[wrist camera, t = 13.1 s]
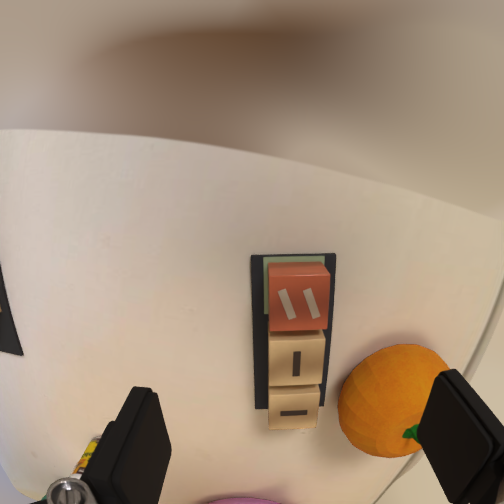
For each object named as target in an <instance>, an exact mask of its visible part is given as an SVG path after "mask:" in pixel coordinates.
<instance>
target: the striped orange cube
mask: <svg viewBox="0 0 504 504" xmlns="http://www.w3.org/2000/svg"><path fill="white" fill-rule="evenodd" d="M329 292H330V273H329V272H328V271H327V269H326V268H325V266H324V265H323V263H322V262H321V261H317V262H271V263H268V315H269V331H296V330H319V329H327V324H328V309H329Z"/></svg>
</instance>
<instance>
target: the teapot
mask: <svg viewBox="0 0 504 504" xmlns="http://www.w3.org/2000/svg"><path fill="white" fill-rule="evenodd" d="M208 504H280V503H277V502H274V501H270V500H264V499H257V498H227V499H221V500H217V501H213V502H211V503H208Z"/></svg>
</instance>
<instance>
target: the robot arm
mask: <svg viewBox="0 0 504 504" xmlns="http://www.w3.org/2000/svg"><path fill="white" fill-rule="evenodd" d="M416 434H417V439H418V441H419V443H420V445H421V447H422V448H423V450H424V452H425V454H426V456H427V458H428V460H429V462H430V464H431V466H432V468H433V470H434V472H435V474H436V476H437V478H438V480H439V483H440V485H441V487H442V489H443V491H444V493H445V495H446V497H447V499H448V501H449V502H450V503H453V504H468V503H470V504H504V426H503V425H502V424H501V422H500V421H499V420H498V419H497V417H496V416H495V415H494V414H493V412H492V411H491V410H490V409H489V407H488V406H487V405H486V404H485V403H484V401H483V400H482V399H481V398H480V396H479V395H478V394H477V393H476V392H475V390H474V389H473V388H472V387H471V386H470V385H469V383H468V382H467V381H466V380H465V379H464V378H463V376H462V375H461V374H460V373H459V372H458V371H457V370H456V369H450V370H445V371H441V372H440V373H439V374H438V376H437V377H435V379H434V382H433V385H432V388H431V391H430V395H429V398H428V400H427V403H426V406H425V409H424V412H423V415H422V417H421V420H420V423H419V425H418V428H417V432H416ZM171 451H172V449H171V443H170V440H169V436H168V433H167V429H166V425H165V422H164V418H163V414H162V410H161V406H160V402H159V398H158V395H157V393H155V392H152V389H151V388H146V387H136V386H134V387H133V388H132V389H131V391H130V393H129V395H128V397H127V399H126V401H125V403H124V405H123V407H122V408H121V410H120V412H119V414H118V416H117V418H116V420H115V421H111V422H109V423H108V425H107V427H106V428H105V430H104V432H103V434H102V436H101V438H100V440H99V442H98V444H97V446H96V448H95V450H94V452H93V453H92V455H91V457H90V459H89V461H88V463H87V465H86V467H85V469H84V471H83V473H82V475H81V477H80V479H77V478H71V477H67V478H61V479H59V480H57V481H55V482H54V483H52V484H51V485H50V487H49V488H48V490H47V494H46V497H47V499H44V500H41V501H37V502H34V503H31V504H158V501H159V497H160V494H161V490H162V486H163V483H164V479H165V475H166V471H167V468H168V464H169V460H170V457H171Z"/></svg>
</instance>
